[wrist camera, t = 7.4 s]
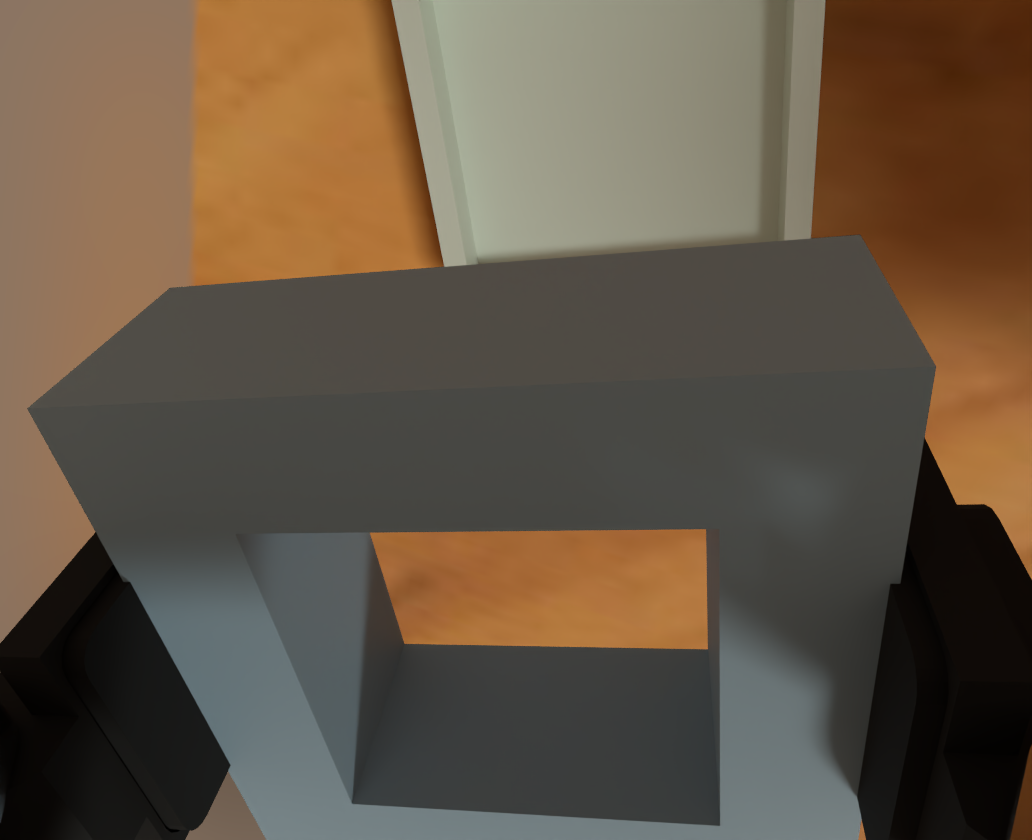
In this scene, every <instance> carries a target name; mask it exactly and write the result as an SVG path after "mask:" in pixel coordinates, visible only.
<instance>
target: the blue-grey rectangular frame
mask: <svg viewBox="0 0 1032 840" xmlns="http://www.w3.org/2000/svg"><path fill="white" fill-rule="evenodd" d="M935 370H936V365H935V364H934V362H933V360H932V359H931V357H930V355H929V353H928V352H927V350H926V348H925V346H924V345H923V343H922V341H921V339H920V338H919V336H918V334H917V332H916V331H915V329H914V327H913V326H912V324H911V322H910V320H909V319H908V317H907V315H906V313H905V312H904V310H903V308H902V306H901V305H900V303H899V301H898V299H897V298H896V296H895V294H894V293H893V291H892V289H891V287H890V286H889V284H888V282H887V280H886V279H885V277H884V275H883V273H882V272H881V270H880V268H879V266H878V265H877V263H876V261H875V259H874V258H873V256H872V254H871V253H870V251H869V249H868V247H867V246H866V244H865V242H864V240H863V239H862V237H861V235H850V236H837V237H824V238H811V239H798V240H785V241H772V242H759V243H746V244H733V245H720V246H707V247H694V248H681V249H668V250H655V251H642V252H629V253H616V254H603V255H590V256H577V257H565V258H552V259H539V260H526V261H513V262H500V263H487V264H474V265H461V266H448V267H435V268H422V269H409V270H396V271H383V272H370V273H357V274H344V275H331V276H318V277H305V278H292V279H279V280H266V281H253V282H240V283H227V284H214V285H201V286H189V287H176V288H169V289H168V290H167V291H166V292H165V293H164V294H162V295H161V296H160V297H159V298H158V299H156V300H155V301H154V302H153V303H152V304H150V305H149V306H148V307H147V308H146V309H145V310H143V311H142V312H141V313H140V314H139V315H138V316H136V317H135V318H134V319H133V320H131V321H130V322H129V323H128V324H127V325H126V326H124V327H123V328H122V329H121V330H120V331H118V332H117V333H116V334H115V335H114V336H113V337H111V338H110V339H109V340H108V341H107V342H105V343H104V344H103V345H102V346H101V347H100V348H98V349H97V350H96V351H95V352H94V353H92V354H91V355H90V356H89V357H88V358H87V359H85V360H84V361H83V362H82V363H81V364H79V365H78V366H77V367H76V368H75V369H74V370H72V371H71V372H70V373H69V374H68V375H67V376H65V377H64V378H63V379H62V380H60V381H59V382H58V383H57V384H56V385H55V386H53V387H52V388H51V389H50V390H49V391H47V392H46V393H45V394H44V395H43V396H42V397H40V398H39V399H38V400H37V401H36V402H34V403H33V404H32V405H31V406H30V407H29V408H27V409H28V411H29V413H30V414H31V416H32V418H33V420H34V422H35V423H36V425H37V427H38V429H39V431H40V432H41V434H42V436H43V437H44V440H45V441H46V443H47V445H48V446H49V449H50V450H51V452H52V454H53V456H54V458H55V459H56V461H57V463H58V465H59V467H60V468H61V470H62V472H63V474H64V475H65V477H66V479H67V481H68V483H69V485H70V486H71V488H72V490H73V492H74V494H75V495H76V497H77V499H78V501H79V503H80V504H81V506H82V508H83V510H84V512H85V513H86V515H87V517H88V519H89V520H90V522H91V524H92V526H93V528H94V530H95V531H96V533H97V535H98V537H99V539H100V541H101V542H102V544H103V546H104V548H105V550H106V551H107V553H108V555H109V557H110V559H111V560H112V562H113V564H114V566H115V568H116V569H117V571H118V573H119V575H120V577H121V578H122V580H123V582H130V583H131V584H132V586H133V588H134V590H135V592H136V593H137V595H138V597H139V599H140V601H141V603H142V604H143V606H144V608H145V610H146V612H147V614H148V615H149V617H150V619H151V621H152V623H153V624H154V626H155V628H156V630H157V632H158V634H159V635H160V637H161V639H162V641H163V643H164V644H165V646H166V648H167V650H168V652H169V654H170V655H171V657H172V659H173V661H174V663H175V665H176V666H177V668H178V670H179V672H180V674H181V675H182V677H183V679H184V681H185V683H186V685H187V686H188V688H189V690H190V692H191V694H192V696H193V697H194V699H195V701H196V703H197V705H198V706H199V708H200V710H201V712H202V714H203V716H204V717H205V719H206V721H207V723H208V725H209V727H210V728H211V730H212V732H213V734H214V736H215V737H216V739H217V741H218V743H219V745H220V747H221V748H222V750H223V752H224V754H225V756H226V758H227V759H228V761H229V763H230V765H231V766H230V768H229V770H228V771H229V773H230V775H231V777H232V778H233V780H234V782H235V784H236V785H237V787H238V789H239V791H240V793H241V795H242V796H243V798H244V800H245V802H246V804H247V805H248V807H249V809H250V811H251V813H252V815H253V816H254V818H255V820H256V822H257V823H258V825H259V827H260V829H261V831H262V832H263V834H264V836H265V838H266V839H267V840H858V837H859V831H860V825H861V819H862V818H861V813H860V809H859V804H858V800H857V794H858V788H859V782H860V775H861V769H862V762H863V756H864V749H865V743H866V737H867V730H868V724H869V717H870V711H871V705H872V698H873V692H874V685H875V679H876V672H877V666H878V660H879V653H880V647H881V640H882V634H883V627H884V621H885V615H886V608H887V602H888V595H889V589H890V584H900V582H901V576H902V570H903V564H904V558H905V552H906V546H907V540H908V534H909V528H910V522H911V516H912V510H913V503H914V497H915V491H916V485H917V479H918V473H919V467H920V461H921V455H922V449H923V443H924V437H925V431H926V425H927V419H928V412H929V406H930V400H931V394H932V388H933V382H934V376H935ZM657 529H706V542H707V612H708V650H704V649H649V648H595V647H540V646H485V645H430V644H404V641H403V638H402V635H401V632H400V629H399V625H398V622H397V619H396V616H395V613H394V609H393V606H392V603H391V600H390V597H389V593H388V590H387V587H386V584H385V581H384V577H383V574H382V571H381V568H380V565H379V561H378V558H377V555H376V552H375V549H374V545H373V542H372V539H371V536H370V533H369V532H463V531H560V530H657Z"/></svg>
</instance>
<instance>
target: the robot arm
mask: <svg viewBox="0 0 1032 840" xmlns="http://www.w3.org/2000/svg"><path fill="white" fill-rule="evenodd" d="M230 766H231V765H230V763H229V761H228V759H227V758H226V756H225V754H224V752H223V750H222V748H221V747H220V745H219V743H218V741H217V739H216V737H215V736H214V734H213V732H212V730H211V728H210V727H209V725H208V723H207V721H206V719H205V717H204V716H203V714H202V712H201V710H200V708H199V706H198V705H197V703H196V701H195V699H194V697H193V696H192V694H191V692H190V690H189V688H188V686H187V685H186V683H185V681H184V679H183V677H182V675H181V674H180V672H179V670H178V668H177V666H176V665H175V663H174V661H173V659H172V657H171V655H170V654H169V652H168V650H167V648H166V646H165V644H164V643H163V641H162V639H161V637H160V635H159V634H158V632H157V630H156V628H155V626H154V624H153V623H152V621H151V619H150V617H149V615H148V614H147V612H146V610H145V608H144V606H143V604H142V603H141V601H140V599H139V597H138V595H137V593H136V592H135V590H134V588H133V586H132V584H131V583H130V582H123V580H122V578H121V577H120V575H119V573H118V571H117V569H116V568H115V566H114V564H113V562H112V560H111V559H110V557H109V555H108V553H107V551H106V550H105V548H104V546H103V544H102V542H101V541H100V539H99V537H98V535H97V533H96V532H95V534H94V535H93V536H92V537H91V538H90V539H89V541H88V542H87V543H86V544H85V545H84V546H83V548H82V549H81V550H80V551H79V552H78V553H77V555H76V556H75V557H74V558H73V559H72V561H71V562H70V563H69V564H68V565H67V566H66V567H65V569H64V570H63V571H62V572H61V573H60V574H59V576H58V577H57V578H56V579H55V580H54V581H53V583H52V584H51V585H50V586H49V587H48V589H47V590H46V591H45V592H44V593H43V594H42V595H41V597H40V598H39V599H38V600H37V601H36V602H35V604H34V605H33V606H32V607H31V608H30V609H29V611H28V612H27V613H26V614H25V615H24V616H23V618H22V619H21V620H20V621H19V622H18V623H17V625H16V626H15V627H14V628H13V629H12V630H11V632H10V633H9V634H8V635H7V636H6V637H5V639H4V640H3V641H2V642H1V643H0V840H185V839H186V837H187V835H188V833H189V831H190V830H194V829H196V828H198V827H199V825H201V823H202V822H203V820H204V819H205V817H206V816H207V814H208V812H209V810H210V807H211V805H212V803H213V801H214V799H215V797H216V795H217V793H218V791H219V788H220V787H221V785H222V782H223V780H224V778H225V776H226V774H227V772H228V770H229V768H230ZM857 800H858V804H859V809H860V813H861V818H862V823H863V827H864V832H865V836H866V840H1032V580H1031V578H1030V576H1029V574H1028V572H1027V570H1026V568H1025V567H1024V565H1023V563H1022V561H1021V559H1020V557H1019V555H1018V554H1017V552H1016V550H1015V548H1014V546H1013V544H1012V542H1011V540H1010V539H1009V537H1008V535H1007V533H1006V531H1005V529H1004V527H1003V525H1002V524H1001V522H1000V520H999V518H998V517H997V515H996V514H995V512H994V511H993V510H992V508H990V507H988V506H986V505H985V504H978V505H957V504H956V502H955V500H954V498H953V496H952V494H951V492H950V490H949V488H948V485H947V483H946V481H945V479H944V477H943V475H942V473H941V471H940V469H939V467H938V465H937V463H936V460H935V458H934V456H933V454H932V452H931V450H930V448H929V446H928V444H927V442H926V440H925V437H924V443H923V449H922V455H921V461H920V467H919V473H918V479H917V485H916V491H915V497H914V503H913V510H912V516H911V522H910V528H909V534H908V540H907V546H906V552H905V558H904V564H903V570H902V576H901V582H900V584H890V589H889V595H888V602H887V608H886V615H885V621H884V627H883V634H882V640H881V647H880V653H879V660H878V666H877V672H876V679H875V685H874V692H873V698H872V705H871V711H870V717H869V724H868V730H867V737H866V743H865V749H864V756H863V762H862V769H861V775H860V782H859V788H858V794H857Z"/></svg>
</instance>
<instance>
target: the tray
mask: <svg viewBox="0 0 1032 840" xmlns="http://www.w3.org/2000/svg"><path fill="white" fill-rule="evenodd" d="M392 6H393V11H394V16H395V21H396V26H397V31H398V36H399V41H400V46H401V51H402V56H403V61H404V66H405V71H406V76H407V81H408V86H409V91H410V96H411V101H412V106H413V111H414V116H415V121H416V127H417V132H418V137H419V142H420V147H421V152H422V157H423V162H424V167H425V172H426V177H427V182H428V187H429V192H430V197H431V202H432V207H433V212H434V217H435V222H436V227H437V232H438V237H439V242H440V247H441V253H442V258H443V263H444V267H448V266H461V265H474V264H487V263H500V262H513V261H526V260H539V259H552V258H565V257H577V256H590V255H603V254H616V253H629V252H642V251H655V250H668V249H681V248H694V247H707V246H720V245H733V244H746V243H759V242H772V241H785V240H798V239H811V228H812V211H813V195H814V179H815V163H816V146H817V130H818V114H819V98H820V81H821V65H822V49H823V32H824V16H825V0H392Z"/></svg>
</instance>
